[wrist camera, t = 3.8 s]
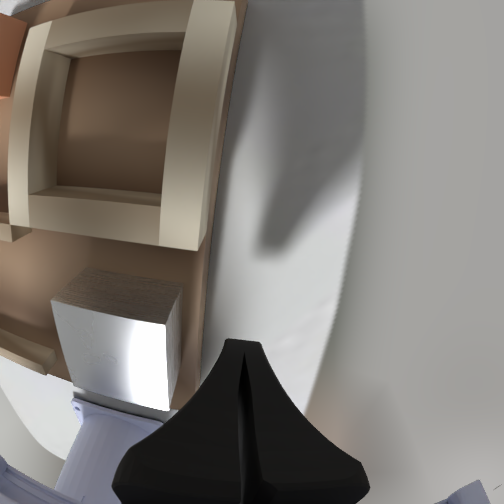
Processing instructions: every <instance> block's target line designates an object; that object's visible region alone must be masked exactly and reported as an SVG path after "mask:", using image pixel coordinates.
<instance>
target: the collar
mask: <svg viewBox="0 0 504 504" xmlns="http://www.w3.org/2000/svg"><path fill="white" fill-rule="evenodd" d="M236 28H237V18H236V9H235V1H220V0H170V1H154V2H143V3H134V4H126V5H119V6H113V7H107V8H102V9H96V10H92V11H87V12H83V13H78V14H74V15H70V16H66V17H63V18H59V19H56V20H52V21H49V22H46V23H43V24H40V25H37V26H34V27H31V28H30V29H29V33H28V36H27V39H26V43H25V47H24V50H23V54H22V58H21V62H20V67H19V71H18V76H17V81H16V87H15V92H14V99H13V106H12V113H11V122H10V133H9V147H8V206H9V220H10V225H17V226H24V227H30V228H37V229H44V230H51V231H58V232H65V233H72V234H78V235H85V236H92V237H99V238H106V239H114V240H121V241H128V242H135V243H142V244H149V245H156V246H164V247H171V248H178V249H185V250H193V251H198V249H199V247H200V245H201V243H202V240H203V238H204V236H205V234H206V231H207V221H208V212H209V203H210V194H211V186H212V178H213V170H214V162H215V155H216V148H217V140H218V133H219V127H220V120H221V113H222V107H223V101H224V94H225V88H226V82H227V76H228V71H229V65H230V59H231V54H232V49H233V43H234V38H235V33H236ZM154 50H182V53H181V57H180V62H179V68H178V73H177V78H176V84H175V90H174V96H173V102H172V109H171V115H170V123H169V130H168V138H167V146H166V155H165V164H164V174H163V186H162V194H157V193H147V192H137V191H126V190H114V189H101V188H88V187H72V186H57V157H58V142H59V131H60V121H61V113H62V106H63V99H64V93H65V87H66V81H67V76H68V71H69V66H70V62H71V59H74V58H80V57H87V56H94V55H101V54H110V53H120V52H133V51H154Z"/></svg>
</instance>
